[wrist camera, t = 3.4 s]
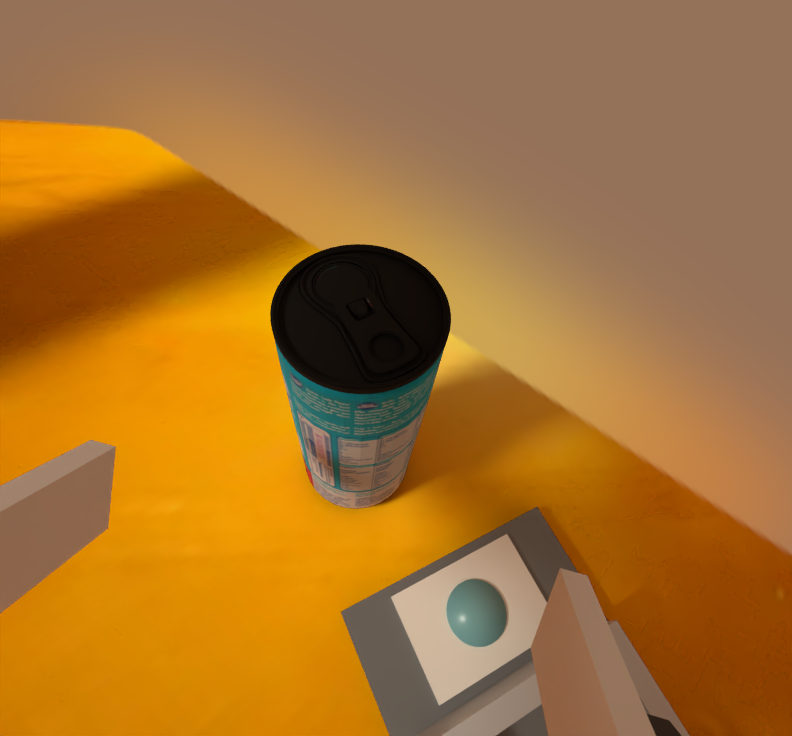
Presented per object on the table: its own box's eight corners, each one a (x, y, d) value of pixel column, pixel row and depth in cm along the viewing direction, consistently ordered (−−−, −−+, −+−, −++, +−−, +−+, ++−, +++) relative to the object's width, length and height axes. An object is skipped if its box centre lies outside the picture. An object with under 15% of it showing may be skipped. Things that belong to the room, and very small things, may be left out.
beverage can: (386, 405, 31) (412, 229, 18) (420, 492, 28) (481, 359, 15) (295, 432, 29) (251, 262, 16) (322, 527, 27) (296, 413, 14)
